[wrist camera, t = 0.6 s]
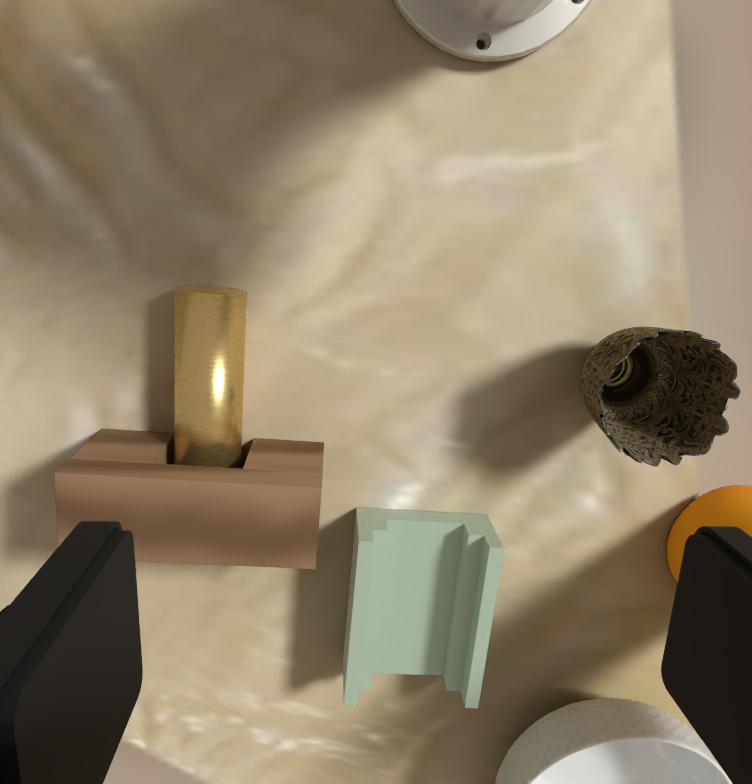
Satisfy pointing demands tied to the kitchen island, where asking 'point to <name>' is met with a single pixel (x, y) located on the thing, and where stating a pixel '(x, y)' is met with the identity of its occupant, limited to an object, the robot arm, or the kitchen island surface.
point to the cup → (659, 392)
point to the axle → (208, 375)
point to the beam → (197, 500)
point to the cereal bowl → (609, 748)
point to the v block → (421, 598)
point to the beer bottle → (710, 518)
